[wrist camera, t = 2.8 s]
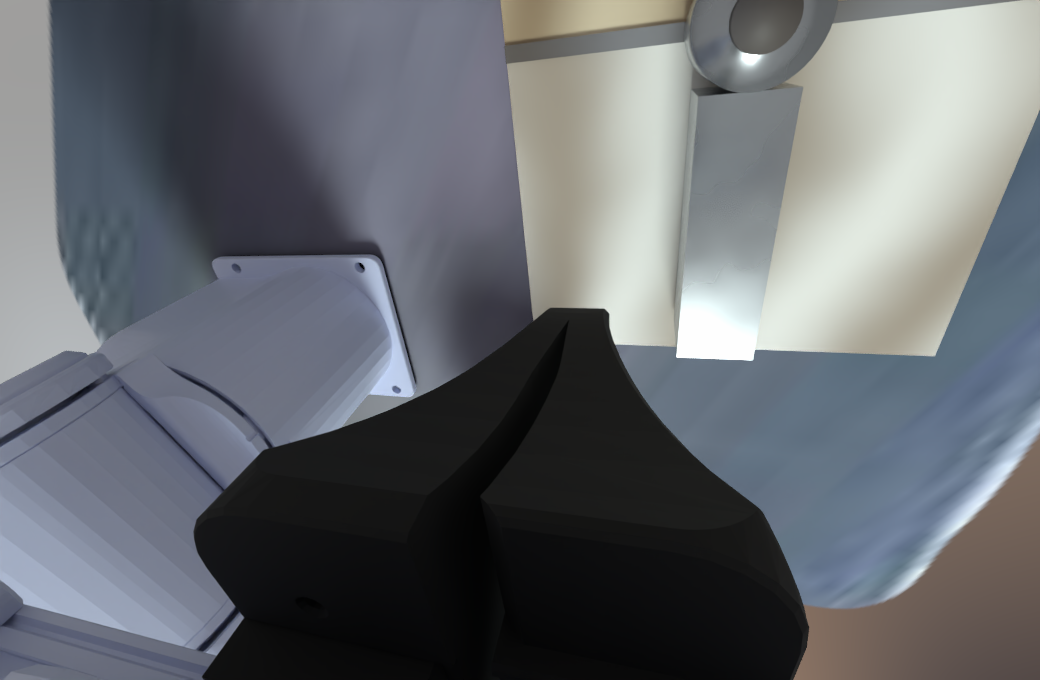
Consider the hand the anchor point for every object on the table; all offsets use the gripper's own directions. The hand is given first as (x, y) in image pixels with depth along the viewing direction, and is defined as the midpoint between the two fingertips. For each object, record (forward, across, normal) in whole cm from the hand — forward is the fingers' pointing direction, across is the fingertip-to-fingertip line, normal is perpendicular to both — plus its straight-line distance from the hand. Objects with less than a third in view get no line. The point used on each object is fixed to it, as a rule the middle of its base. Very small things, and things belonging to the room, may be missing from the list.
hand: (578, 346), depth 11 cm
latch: (+8, -4, -2) cm, 9 cm away
